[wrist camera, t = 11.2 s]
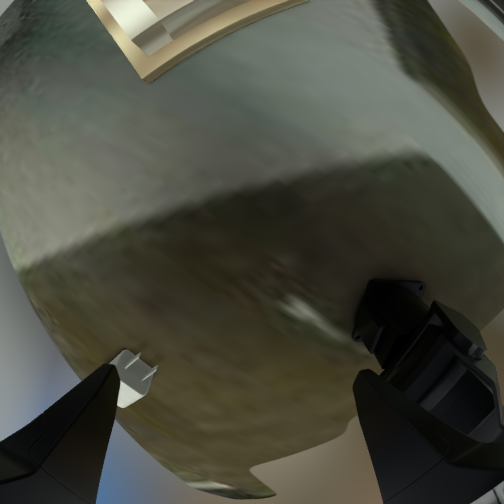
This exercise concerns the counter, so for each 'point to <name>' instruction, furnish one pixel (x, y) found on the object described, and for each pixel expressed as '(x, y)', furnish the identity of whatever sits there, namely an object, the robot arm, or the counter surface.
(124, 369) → the usb wall charger
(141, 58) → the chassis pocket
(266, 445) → the counter surface
